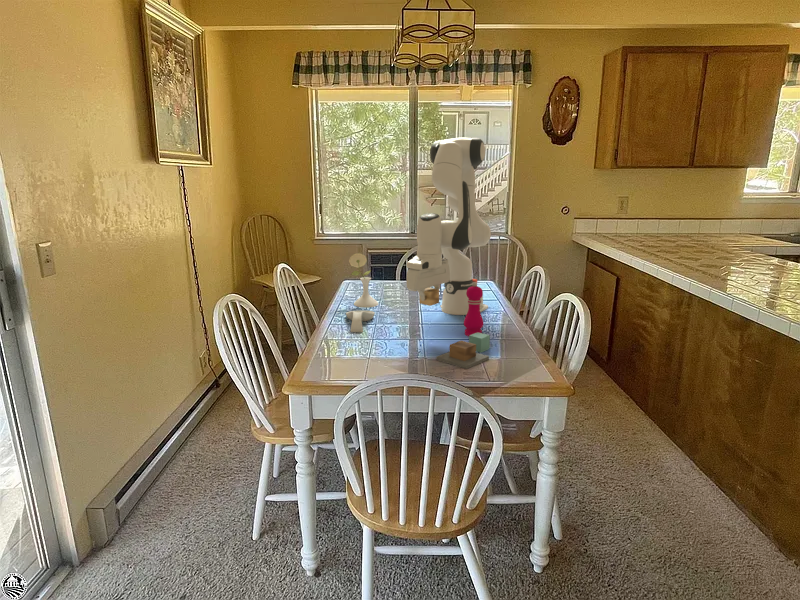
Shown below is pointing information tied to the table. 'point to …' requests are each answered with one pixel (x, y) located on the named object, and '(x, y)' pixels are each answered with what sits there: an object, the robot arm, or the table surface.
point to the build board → (461, 363)
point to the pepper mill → (473, 310)
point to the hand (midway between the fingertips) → (429, 298)
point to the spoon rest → (359, 319)
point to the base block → (462, 350)
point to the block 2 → (480, 341)
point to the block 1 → (431, 296)
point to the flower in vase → (365, 299)
